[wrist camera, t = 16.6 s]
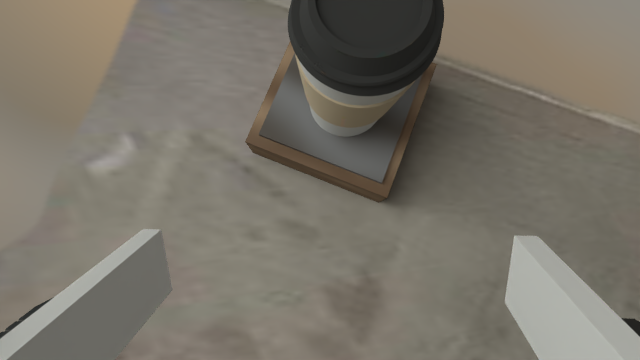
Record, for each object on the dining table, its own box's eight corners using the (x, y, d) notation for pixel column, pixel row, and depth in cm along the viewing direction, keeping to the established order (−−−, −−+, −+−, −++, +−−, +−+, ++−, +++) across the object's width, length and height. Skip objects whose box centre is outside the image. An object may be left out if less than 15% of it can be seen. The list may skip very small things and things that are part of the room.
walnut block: (303, 37, 40) (302, 9, 35) (423, 83, 39) (438, 61, 34) (253, 152, 38) (244, 139, 33) (378, 202, 37) (388, 197, 32)
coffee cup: (414, 108, 34) (494, 8, 19) (339, 168, 33) (360, 112, 18) (352, 37, 35) (381, -112, 20) (277, 93, 34) (249, -19, 19)
